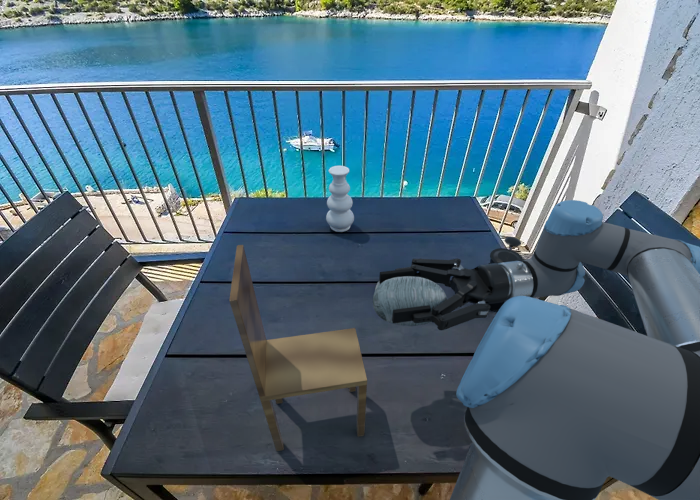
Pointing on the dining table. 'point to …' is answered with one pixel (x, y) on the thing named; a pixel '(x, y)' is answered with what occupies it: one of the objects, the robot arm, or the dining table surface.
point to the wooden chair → (294, 356)
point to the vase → (339, 201)
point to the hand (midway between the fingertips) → (386, 296)
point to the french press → (504, 260)
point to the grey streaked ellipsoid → (406, 296)
